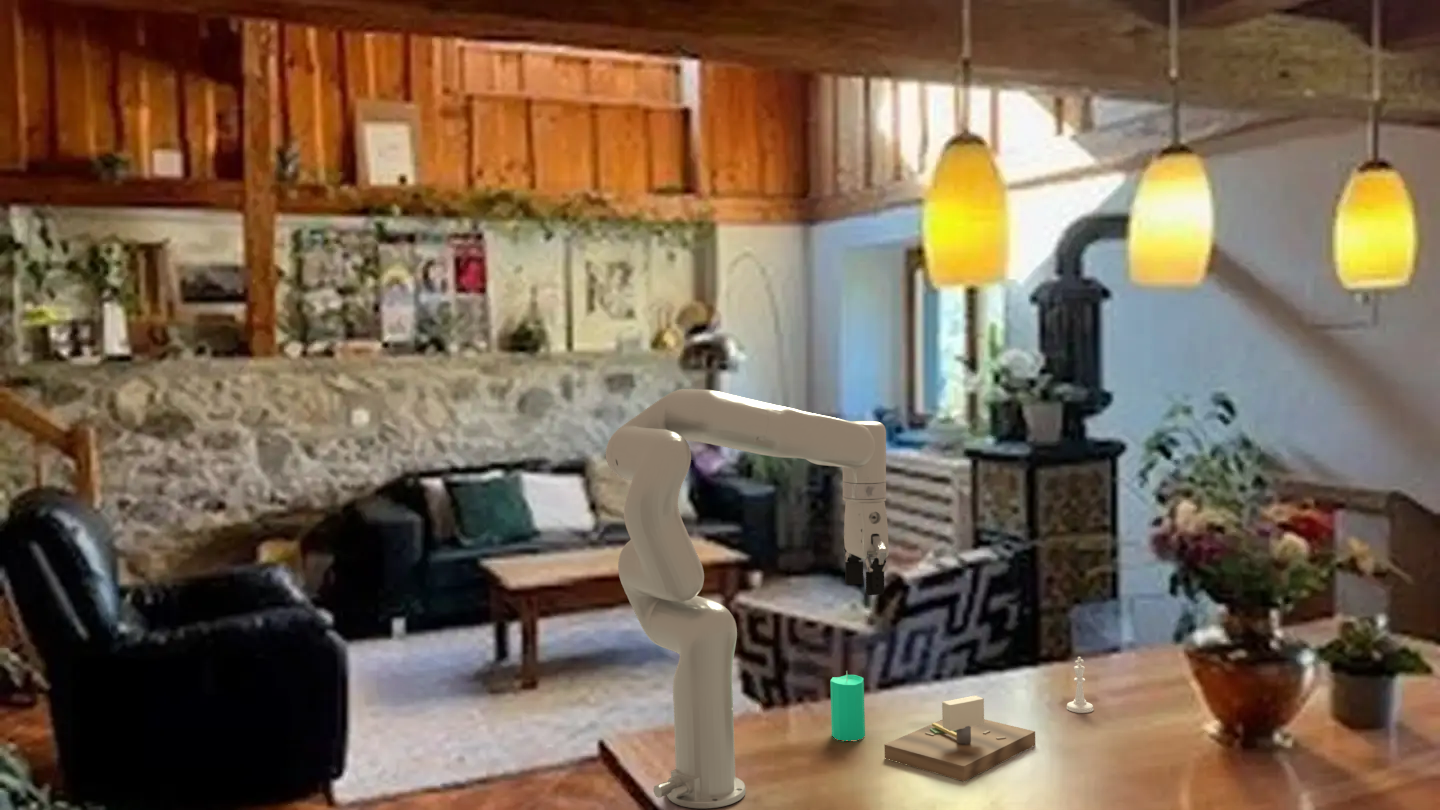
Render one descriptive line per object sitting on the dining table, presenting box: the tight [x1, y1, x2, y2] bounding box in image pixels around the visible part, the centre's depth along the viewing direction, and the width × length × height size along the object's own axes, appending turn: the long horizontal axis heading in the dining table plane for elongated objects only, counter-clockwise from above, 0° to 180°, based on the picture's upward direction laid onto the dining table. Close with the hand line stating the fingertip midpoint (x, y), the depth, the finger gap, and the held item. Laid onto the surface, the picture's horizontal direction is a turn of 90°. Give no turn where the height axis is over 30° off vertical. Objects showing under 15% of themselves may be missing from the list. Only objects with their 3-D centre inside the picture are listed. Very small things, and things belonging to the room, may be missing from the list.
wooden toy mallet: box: [931, 694, 985, 744], centre depth 210 cm, size 10×7×7 cm
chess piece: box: [1066, 656, 1094, 714], centre depth 231 cm, size 5×5×10 cm
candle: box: [829, 670, 866, 742], centre depth 220 cm, size 6×6×12 cm
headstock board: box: [883, 718, 1036, 782], centre depth 210 cm, size 22×16×3 cm
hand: (864, 589), depth 213 cm, fingers open, 9 cm apart
